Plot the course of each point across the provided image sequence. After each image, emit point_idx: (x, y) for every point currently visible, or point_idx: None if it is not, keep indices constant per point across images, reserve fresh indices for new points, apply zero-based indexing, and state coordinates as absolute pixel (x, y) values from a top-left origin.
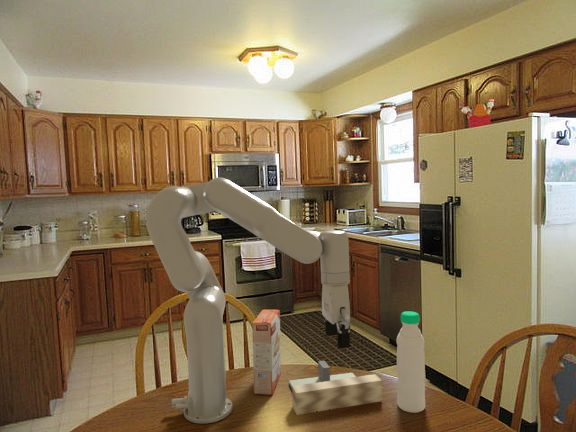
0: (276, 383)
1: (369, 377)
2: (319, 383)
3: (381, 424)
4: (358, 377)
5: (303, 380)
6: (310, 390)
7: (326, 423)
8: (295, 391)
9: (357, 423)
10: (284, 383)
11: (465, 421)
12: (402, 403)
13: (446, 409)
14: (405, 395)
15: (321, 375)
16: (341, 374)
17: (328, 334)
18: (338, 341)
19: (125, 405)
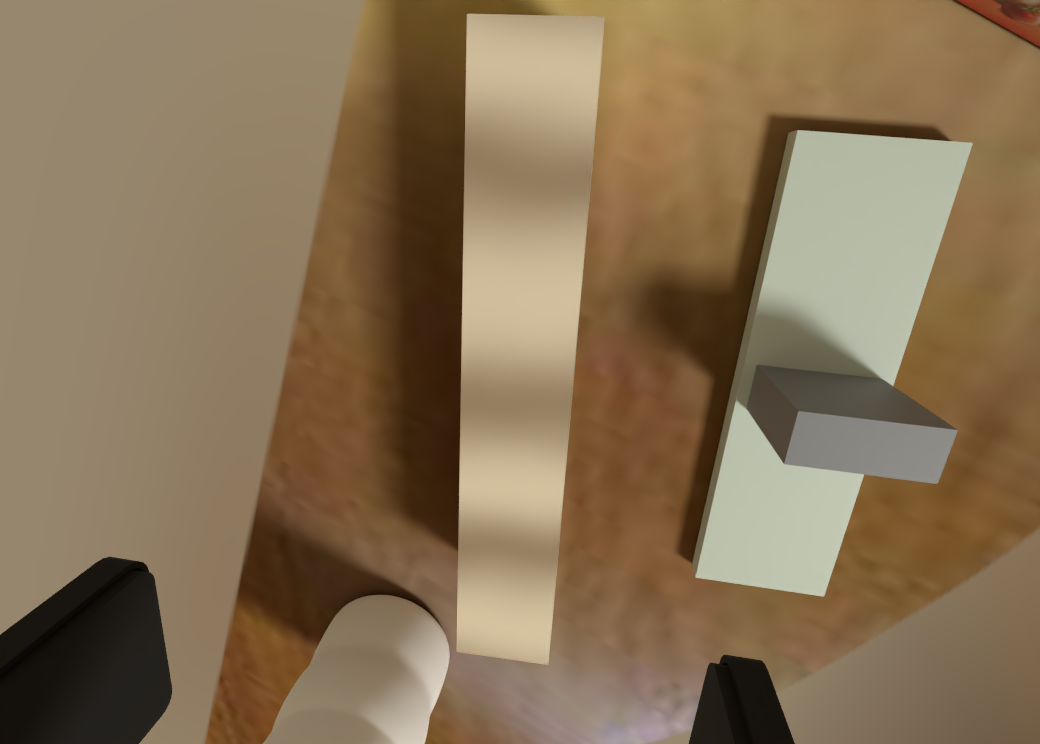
0: (995, 14)
1: (517, 615)
2: (561, 275)
3: (291, 455)
4: (544, 561)
5: (903, 257)
6: (472, 158)
7: (359, 207)
8: (497, 18)
9: (322, 361)
10: (987, 107)
11: (248, 724)
12: (354, 616)
13: None
14: (321, 658)
15: (822, 386)
16: (836, 529)
17: (710, 692)
18: (10, 641)
19: None
